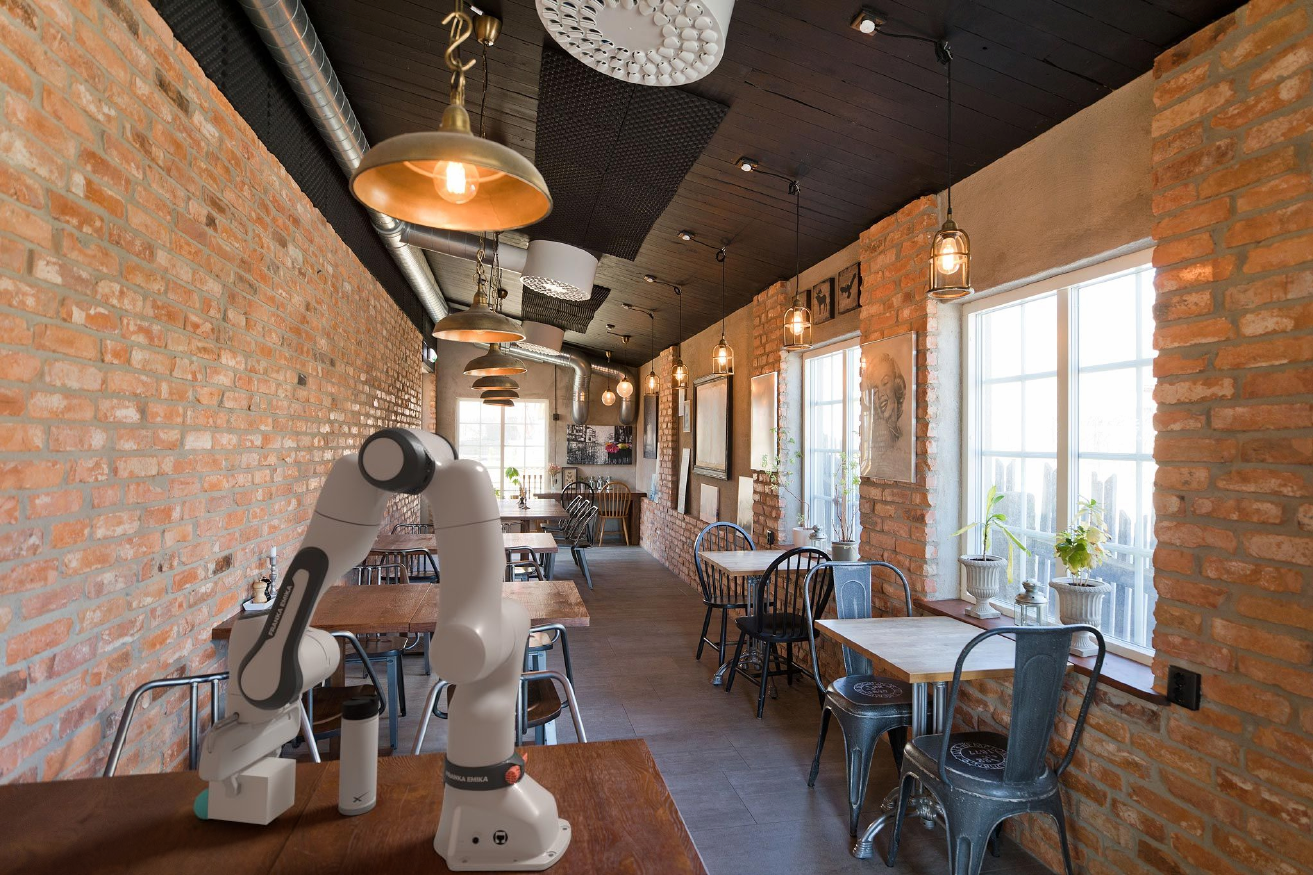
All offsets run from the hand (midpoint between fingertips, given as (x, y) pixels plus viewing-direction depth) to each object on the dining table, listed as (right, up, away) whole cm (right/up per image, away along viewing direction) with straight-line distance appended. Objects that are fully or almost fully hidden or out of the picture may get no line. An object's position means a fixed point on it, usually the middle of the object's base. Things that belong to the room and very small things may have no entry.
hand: (251, 784), depth 120 cm
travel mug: (+16, -7, +5) cm, 19 cm away
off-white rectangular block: (0, -5, 0) cm, 5 cm away
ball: (-8, -4, +1) cm, 9 cm away
